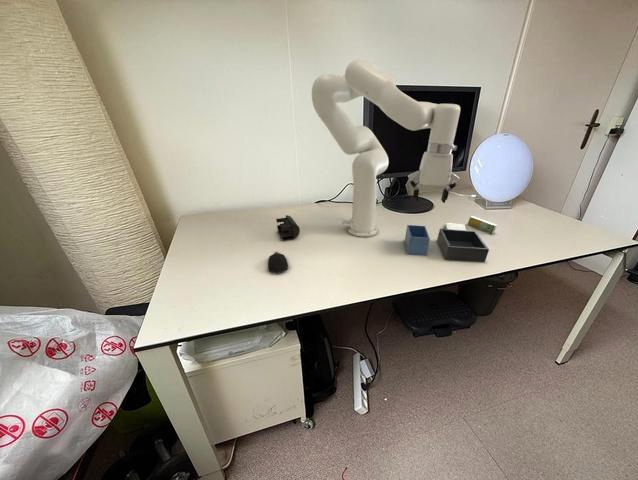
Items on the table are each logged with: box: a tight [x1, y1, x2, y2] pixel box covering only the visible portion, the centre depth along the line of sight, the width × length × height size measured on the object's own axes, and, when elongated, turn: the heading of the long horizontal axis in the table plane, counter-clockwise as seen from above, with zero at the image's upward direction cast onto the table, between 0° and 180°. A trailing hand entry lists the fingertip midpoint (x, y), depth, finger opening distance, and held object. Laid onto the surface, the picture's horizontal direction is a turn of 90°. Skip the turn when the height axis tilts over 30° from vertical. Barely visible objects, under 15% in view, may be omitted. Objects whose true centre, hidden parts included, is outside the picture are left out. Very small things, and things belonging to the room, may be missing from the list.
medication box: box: [467, 215, 498, 235], centre depth 123 cm, size 12×3×4 cm, turn 38°
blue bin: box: [404, 224, 431, 256], centre depth 105 cm, size 7×11×7 cm, turn 175°
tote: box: [436, 228, 490, 263], centre depth 105 cm, size 14×16×5 cm
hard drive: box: [444, 222, 467, 230], centre depth 120 cm, size 2×8×12 cm
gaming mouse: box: [267, 251, 289, 274], centre depth 93 cm, size 6×15×4 cm, turn 16°
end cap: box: [275, 214, 301, 242], centre depth 111 cm, size 10×7×7 cm
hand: (429, 200), depth 98 cm, fingers open, 9 cm apart
